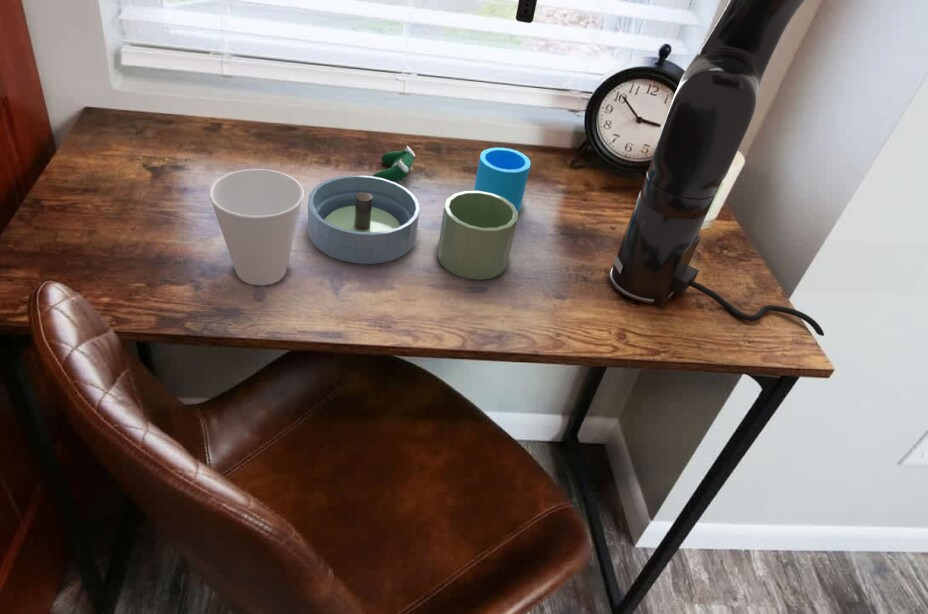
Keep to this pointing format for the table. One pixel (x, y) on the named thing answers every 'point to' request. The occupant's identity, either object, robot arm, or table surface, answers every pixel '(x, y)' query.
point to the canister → (476, 234)
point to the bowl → (362, 243)
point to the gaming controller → (396, 165)
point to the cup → (258, 221)
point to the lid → (362, 216)
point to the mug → (503, 174)
